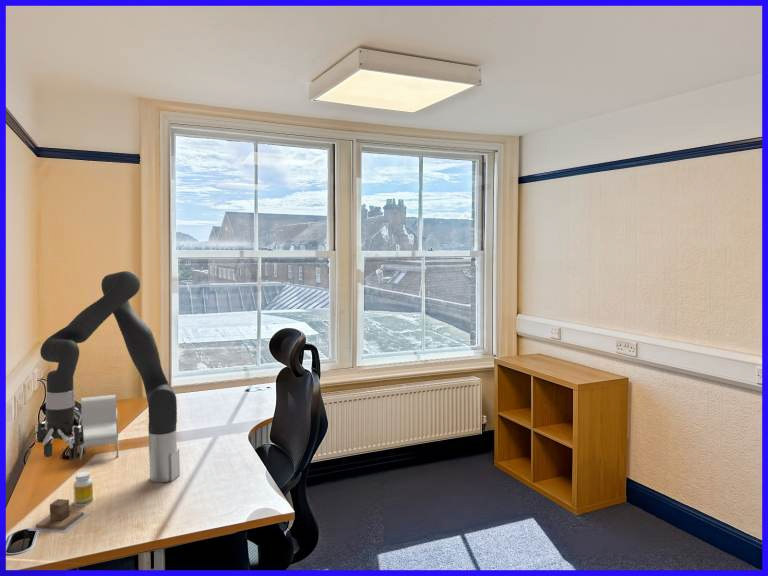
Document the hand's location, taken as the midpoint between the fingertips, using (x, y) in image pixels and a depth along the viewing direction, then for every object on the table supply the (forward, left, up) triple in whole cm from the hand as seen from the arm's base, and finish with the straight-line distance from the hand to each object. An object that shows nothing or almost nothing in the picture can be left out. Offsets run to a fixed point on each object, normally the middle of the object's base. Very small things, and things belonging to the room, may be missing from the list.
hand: (60, 457), depth 176 cm
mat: (-1, +3, -19) cm, 19 cm away
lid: (-1, +3, -19) cm, 19 cm away
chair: (+22, -55, -19) cm, 62 cm away
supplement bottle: (0, -10, -19) cm, 22 cm away
